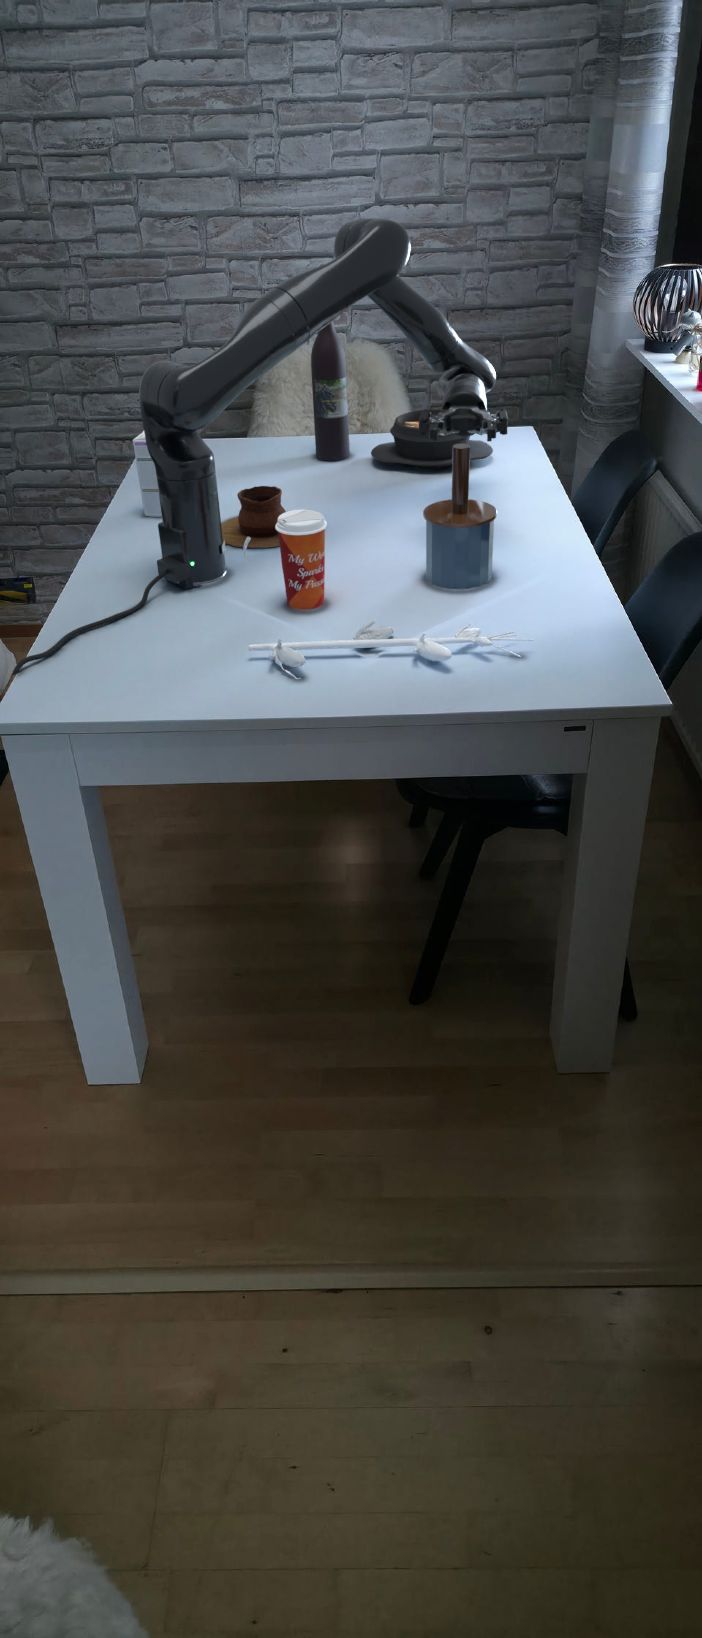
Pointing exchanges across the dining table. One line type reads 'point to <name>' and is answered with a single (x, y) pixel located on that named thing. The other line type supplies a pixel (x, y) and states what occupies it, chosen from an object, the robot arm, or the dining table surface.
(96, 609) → the dining table surface
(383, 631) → the dried plant stem
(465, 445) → the paper towel holder
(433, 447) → the casserole
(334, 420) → the wine bottle
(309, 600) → the paper cup
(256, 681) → the dining table surface
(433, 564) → the blue faceted canister
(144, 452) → the syrup box
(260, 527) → the ceramic pot
